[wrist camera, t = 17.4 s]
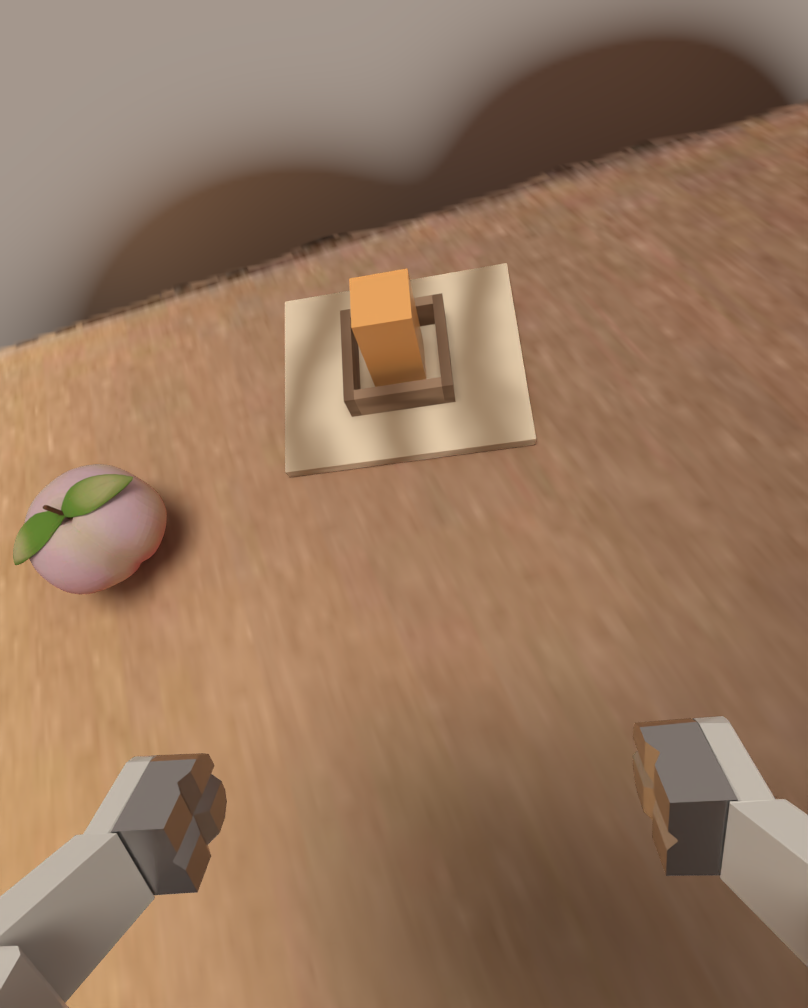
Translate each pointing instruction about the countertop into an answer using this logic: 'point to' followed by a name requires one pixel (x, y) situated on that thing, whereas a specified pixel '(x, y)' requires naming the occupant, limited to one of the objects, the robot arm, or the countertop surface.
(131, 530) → the decorative fruit
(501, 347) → the socket board
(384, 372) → the orange cap block
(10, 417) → the countertop surface
